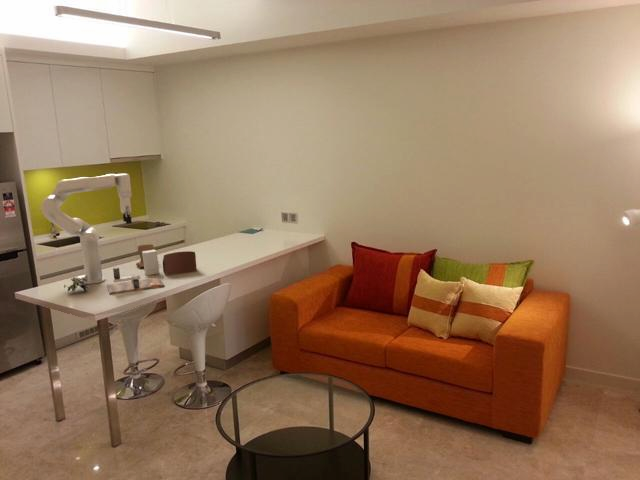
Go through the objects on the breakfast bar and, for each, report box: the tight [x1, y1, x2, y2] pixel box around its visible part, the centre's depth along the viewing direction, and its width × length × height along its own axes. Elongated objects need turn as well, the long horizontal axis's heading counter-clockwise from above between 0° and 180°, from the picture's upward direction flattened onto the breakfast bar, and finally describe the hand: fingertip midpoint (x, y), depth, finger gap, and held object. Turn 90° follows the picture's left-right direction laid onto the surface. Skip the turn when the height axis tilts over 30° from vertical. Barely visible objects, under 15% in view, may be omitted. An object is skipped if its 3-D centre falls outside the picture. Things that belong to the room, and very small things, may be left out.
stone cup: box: [135, 243, 155, 269], centre depth 366 cm, size 15×12×15 cm
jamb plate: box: [106, 273, 165, 296], centre depth 317 cm, size 30×18×6 cm, turn 115°
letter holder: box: [162, 250, 198, 276], centre depth 347 cm, size 10×20×14 cm, turn 112°
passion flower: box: [63, 276, 90, 295], centre depth 308 cm, size 11×11×12 cm
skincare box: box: [142, 249, 160, 276], centre depth 345 cm, size 8×6×15 cm
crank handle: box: [112, 267, 141, 283], centre depth 308 cm, size 14×4×8 cm, turn 115°
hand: (127, 222), depth 330 cm, fingers open, 9 cm apart
